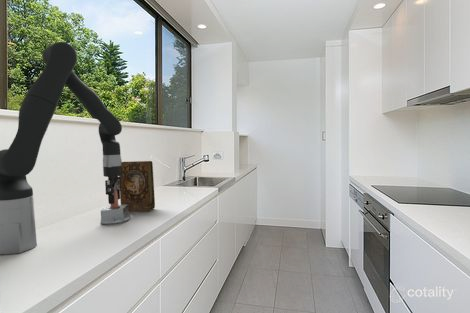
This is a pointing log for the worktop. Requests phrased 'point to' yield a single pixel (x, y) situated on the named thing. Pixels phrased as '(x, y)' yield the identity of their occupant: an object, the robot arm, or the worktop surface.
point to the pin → (115, 199)
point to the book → (137, 186)
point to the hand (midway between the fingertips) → (114, 201)
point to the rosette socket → (115, 215)
